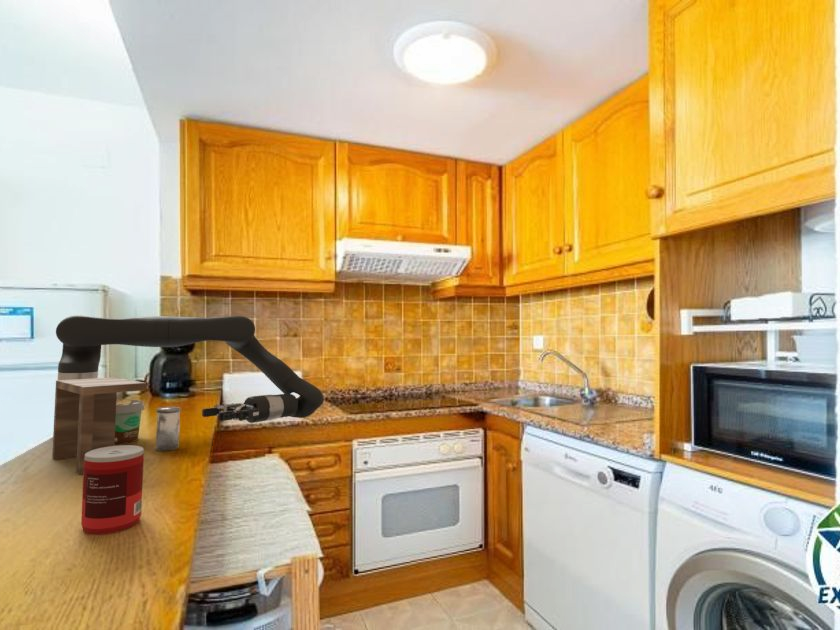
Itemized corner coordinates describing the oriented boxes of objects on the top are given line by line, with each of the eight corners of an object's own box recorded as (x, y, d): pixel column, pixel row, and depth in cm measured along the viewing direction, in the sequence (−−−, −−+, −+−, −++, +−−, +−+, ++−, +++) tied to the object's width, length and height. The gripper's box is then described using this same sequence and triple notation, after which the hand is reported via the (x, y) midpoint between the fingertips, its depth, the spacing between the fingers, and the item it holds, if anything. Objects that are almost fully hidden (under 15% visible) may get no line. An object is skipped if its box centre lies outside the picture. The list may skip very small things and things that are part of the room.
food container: (124, 446, 118) (125, 406, 118) (100, 446, 118) (101, 406, 118) (153, 436, 130) (154, 399, 131) (131, 435, 130) (132, 399, 131)
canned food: (130, 510, 76) (132, 442, 77) (149, 523, 71) (152, 450, 72) (73, 524, 70) (76, 451, 71) (90, 540, 65) (94, 460, 66)
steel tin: (151, 448, 116) (153, 408, 117) (173, 445, 120) (174, 405, 121) (160, 452, 113) (162, 410, 113) (182, 448, 117) (184, 407, 118)
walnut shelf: (52, 458, 106) (55, 380, 106) (112, 449, 115) (115, 377, 116) (79, 474, 95) (83, 387, 95) (143, 462, 104) (146, 382, 105)
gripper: (250, 393, 143) (198, 398, 130) (278, 397, 134) (225, 403, 121) (249, 417, 142) (197, 425, 130) (277, 424, 134) (224, 432, 121)
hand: (210, 414), depth 125 cm, fingers open, 8 cm apart
